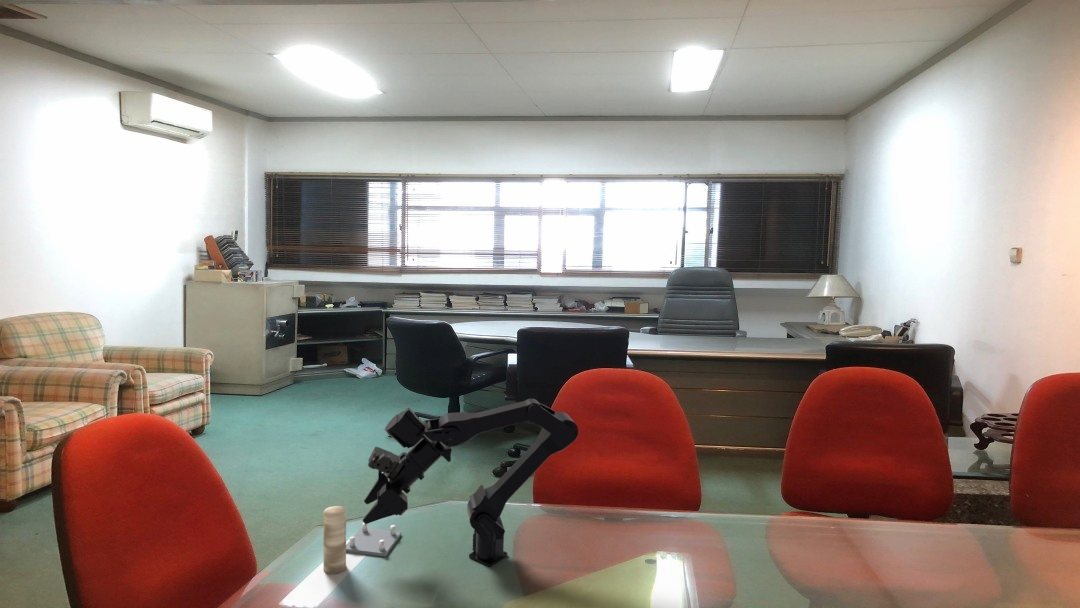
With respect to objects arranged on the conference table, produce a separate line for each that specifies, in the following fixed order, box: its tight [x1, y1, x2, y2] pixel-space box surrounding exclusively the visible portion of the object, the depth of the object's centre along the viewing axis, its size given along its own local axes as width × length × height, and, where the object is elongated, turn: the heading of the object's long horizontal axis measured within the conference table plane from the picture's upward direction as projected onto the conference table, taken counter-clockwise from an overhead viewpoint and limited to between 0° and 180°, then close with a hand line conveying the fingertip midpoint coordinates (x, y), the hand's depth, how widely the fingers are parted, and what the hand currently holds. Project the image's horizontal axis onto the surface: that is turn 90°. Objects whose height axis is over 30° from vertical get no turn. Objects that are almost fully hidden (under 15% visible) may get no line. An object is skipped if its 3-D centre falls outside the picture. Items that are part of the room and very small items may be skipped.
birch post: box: [323, 505, 347, 575], centre depth 135 cm, size 5×5×13 cm
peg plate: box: [346, 521, 402, 557], centre depth 146 cm, size 10×10×3 cm
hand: (364, 512), depth 136 cm, fingers open, 9 cm apart
